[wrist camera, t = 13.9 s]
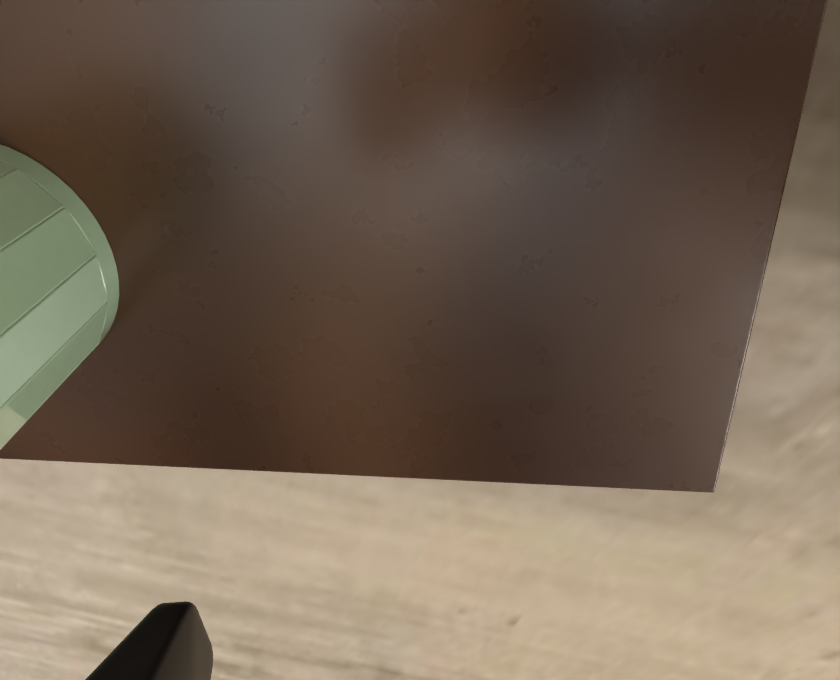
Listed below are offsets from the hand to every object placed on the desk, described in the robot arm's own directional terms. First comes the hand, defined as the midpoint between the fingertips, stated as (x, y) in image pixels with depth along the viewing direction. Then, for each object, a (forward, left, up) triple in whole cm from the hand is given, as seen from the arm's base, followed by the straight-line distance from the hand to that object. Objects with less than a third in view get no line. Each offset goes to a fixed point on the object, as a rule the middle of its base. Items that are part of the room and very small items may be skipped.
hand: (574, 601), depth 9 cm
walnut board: (+7, +1, -13) cm, 15 cm away
